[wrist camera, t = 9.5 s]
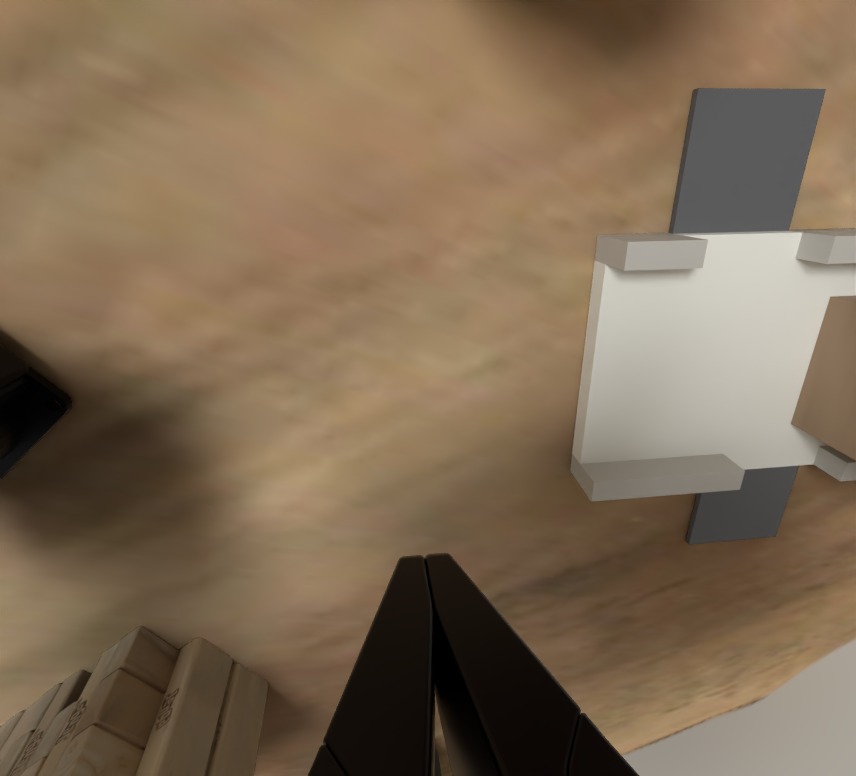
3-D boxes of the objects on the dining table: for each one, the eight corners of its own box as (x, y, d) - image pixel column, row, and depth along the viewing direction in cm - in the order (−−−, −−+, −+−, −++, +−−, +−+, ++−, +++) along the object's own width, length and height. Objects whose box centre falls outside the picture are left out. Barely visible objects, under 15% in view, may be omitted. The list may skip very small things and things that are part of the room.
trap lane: (560, 552, 26) (587, 604, 22) (614, 89, 18) (669, 68, 14) (933, 518, 28) (1006, 562, 25) (1137, 92, 20) (1286, 75, 16)
